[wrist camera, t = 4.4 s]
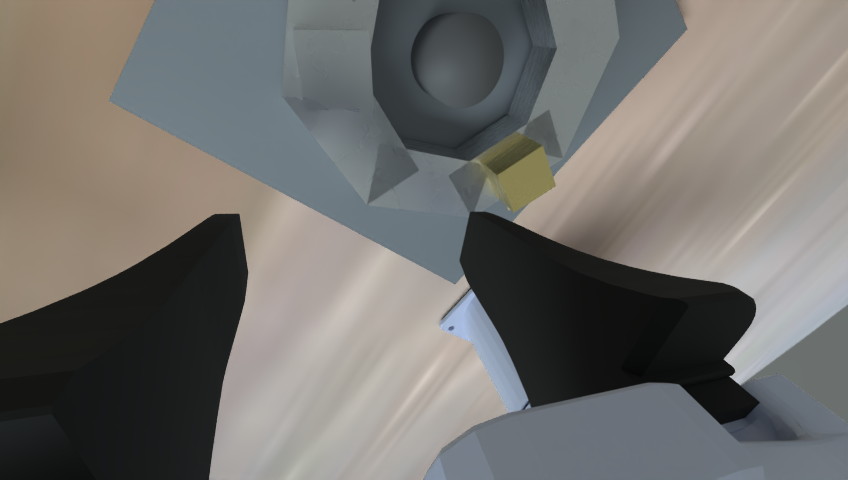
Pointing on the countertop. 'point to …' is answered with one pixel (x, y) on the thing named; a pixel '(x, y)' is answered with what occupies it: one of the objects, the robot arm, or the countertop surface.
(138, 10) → the countertop surface
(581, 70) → the ring nut
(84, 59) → the countertop surface
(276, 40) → the slate plate
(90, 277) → the countertop surface
